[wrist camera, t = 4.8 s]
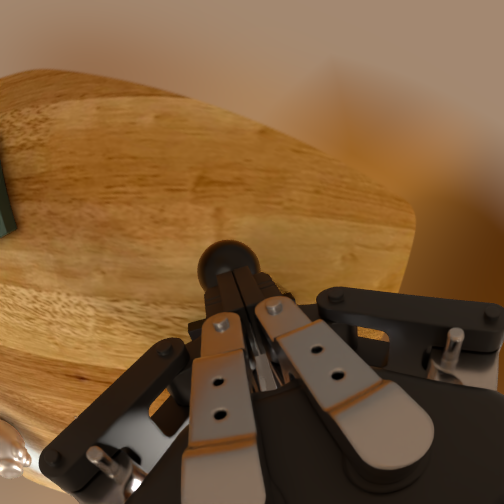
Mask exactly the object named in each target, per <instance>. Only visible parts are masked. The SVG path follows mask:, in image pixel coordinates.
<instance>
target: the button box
mask: <svg viewBox="0 0 504 504" xmlns="http://www.w3.org/2000/svg"><path fill="white" fill-rule="evenodd" d="M16 229H17V226H16V223H15V220H14V217H13V213H12V210H11V206H10V202H9V198H8V194H7V190H6V186H5V182H4V177H3V172H2V167H1V161H0V238H2V237H3V236H5V235H7V234H9V233H10V232H12V231H14V230H16Z"/></svg>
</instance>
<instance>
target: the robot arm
mask: <svg viewBox="0 0 504 504" xmlns="http://www.w3.org/2000/svg"><path fill="white" fill-rule="evenodd" d="M233 274H234V277H235V280H234V277H233ZM233 274H232V272H231V271H228V272H225V273H221V274H218V275H216V277H217V282H218V285H217V286H214V287H211V288H208V289H207V291H206V292H205V294H204V298H205V308H206V318H207V320H206V321H205V322H204V323H203V325H202V335H201V336H200V337H198V338H197V339H195V340H193V341H191V342H189V343H187V344H184V342H183V341H182V340H181V339H179V338H167V339H163V340H161V341H159V342H157V343H156V344H154V345H153V346H152V347H151V348H150V349H149V350H148V351H147V352H146V353H145V354H143V355H142V356H141V357H140V358H139V359H138V360H137V361H136V362H135V363H134V364H133V365H132V366H131V367H130V368H129V369H128V370H127V371H126V372H124V373H123V374H122V375H121V376H120V377H119V378H118V379H117V380H116V381H115V382H114V383H113V384H112V385H111V386H110V387H109V388H108V389H107V390H106V391H104V392H103V393H102V394H101V395H100V396H99V397H98V398H97V399H96V400H95V401H94V402H93V403H92V404H91V405H90V406H89V407H88V408H87V409H85V410H84V411H83V412H82V413H81V414H80V415H79V416H78V417H77V418H76V419H75V420H74V421H73V422H72V423H71V424H70V425H69V426H68V427H67V428H65V429H64V430H63V431H62V432H61V433H60V434H59V435H58V436H57V437H56V438H55V439H54V440H53V441H52V442H51V443H50V444H49V445H48V446H46V447H45V449H44V450H43V451H42V453H41V455H40V457H39V469H40V471H41V472H42V474H43V475H44V476H46V477H47V478H48V479H50V480H51V481H52V482H54V483H55V484H57V485H58V486H59V487H60V488H61V489H62V490H64V491H65V492H67V493H68V494H70V495H71V496H73V497H74V498H75V499H76V500H77V501H78V502H79V503H80V504H504V395H503V394H501V393H499V392H497V382H498V359H499V351H500V349H501V346H502V343H503V341H504V308H503V307H502V306H500V305H497V304H494V303H484V302H474V301H463V300H453V299H443V298H434V297H424V296H415V295H405V294H398V293H389V292H381V291H372V290H364V289H356V288H348V287H332V288H328V289H326V290H324V291H322V292H321V293H320V294H319V295H318V296H317V298H316V301H317V303H316V304H309V305H296V304H295V303H294V302H293V301H292V300H291V299H290V298H288V297H285V296H283V295H282V294H281V292H280V291H279V289H278V288H277V286H276V285H275V283H274V282H273V281H272V279H271V277H270V276H269V275H268V274H265V273H263V272H260V273H257V274H253V275H252V273H251V271H250V269H249V267H248V266H244V267H241V268H238V269H234V270H233ZM235 281H236V283H235ZM236 284H237V286H236ZM357 326H359V327H364V328H370V329H376V330H381V331H383V332H385V333H386V334H387V335H388V336H389V340H390V342H385V341H380V340H374V339H369V338H364V337H359V336H358V334H357ZM250 327H251V328H250ZM251 330H252V331H251ZM252 332H253V334H252ZM253 335H254V337H253ZM254 338H255V340H254ZM255 341H256V343H257V346H258V349H259V351H260V354H261V355H262V354H265V353H266V354H267V356H268V359H269V363H270V366H271V369H272V370H273V372H274V374H275V376H276V378H277V380H278V381H279V383H280V385H281V387H279V388H277V389H275V390H270V391H262V389H261V384H260V380H259V375H258V371H257V368H256V360H255V357H256V356H259V353H258V350H257V347H256V344H255ZM165 388H167V390H168V392H169V393H170V396H169V398H168V399H167V400H166V401H165V402H164V403H163V404H162V405H161V407H160V408H159V409H158V410H157V411H156V412H155V413H154V414H153V416H152V417H151V418H150V416H149V407H150V405H151V404H152V402H153V401H154V400H155V399H156V398H157V397H158V396H159V395H160V394H161V393H162V391H163V390H164V389H165Z"/></svg>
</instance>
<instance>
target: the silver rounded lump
mask: <svg viewBox="0 0 504 504" xmlns="http://www.w3.org/2000/svg"><path fill="white" fill-rule="evenodd" d="M24 446H25V442H24V440H23V438H22V436H21V435H20V433H19V432H18V431H17V430H16V429H15V428H14V427H13V426H12V425H10V424H9V423H7V422H5V421H3V420H0V475H1V476H2V477H4V478H7V479H12V478H16V477H20V476H21V475H22V474H23V467H29V466H30V465H31V461H32V459H31V456H30V455H29V454H28V452H27V449H26V448H25V447H24Z"/></svg>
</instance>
